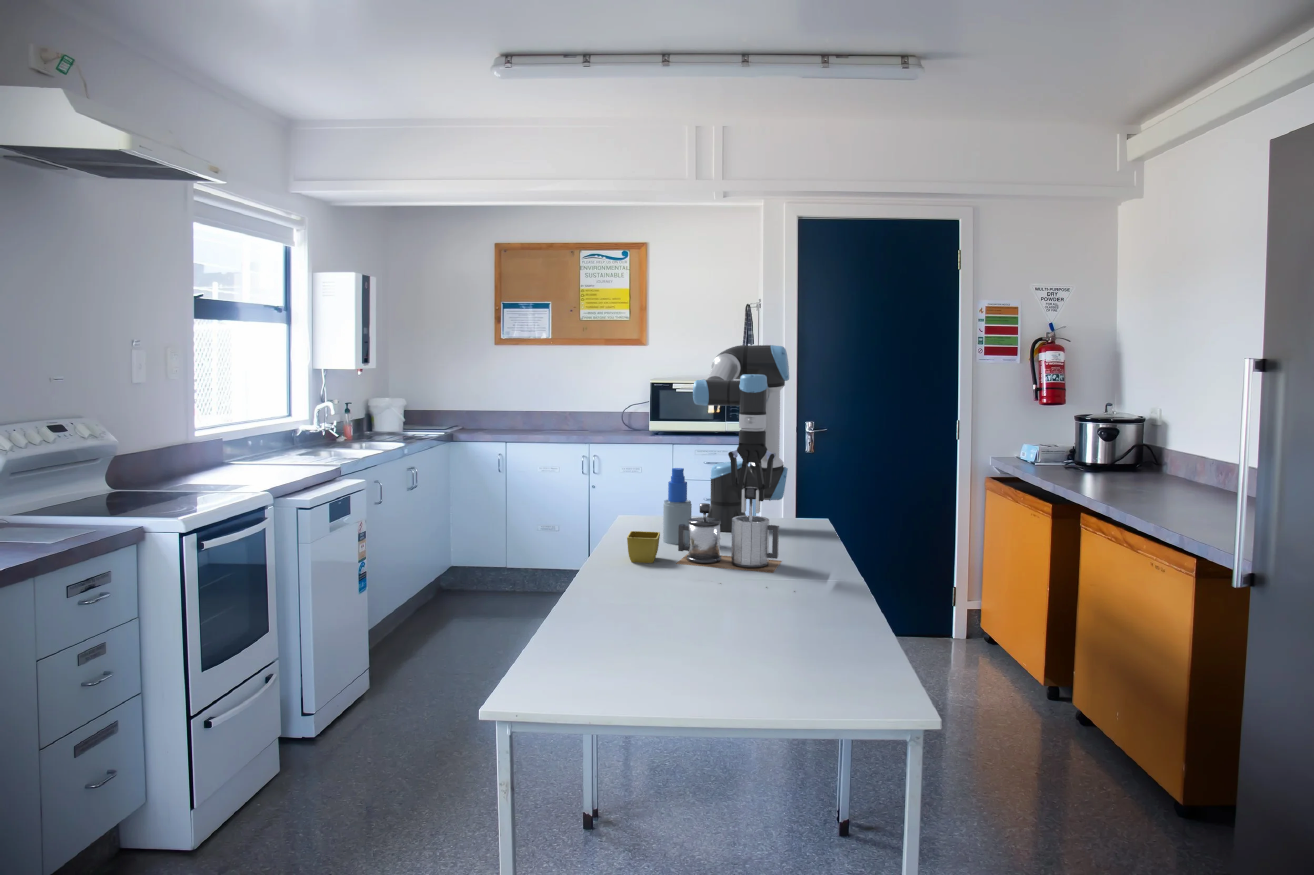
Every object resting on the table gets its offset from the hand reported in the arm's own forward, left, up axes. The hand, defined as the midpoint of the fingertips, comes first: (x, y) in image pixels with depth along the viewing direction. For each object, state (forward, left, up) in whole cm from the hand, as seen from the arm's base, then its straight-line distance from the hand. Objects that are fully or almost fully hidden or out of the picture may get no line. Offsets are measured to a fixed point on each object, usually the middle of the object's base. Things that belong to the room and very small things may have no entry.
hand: (750, 511), depth 228 cm
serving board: (0, -6, -17) cm, 18 cm away
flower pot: (+6, -30, -17) cm, 35 cm away
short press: (0, -15, -15) cm, 21 cm away
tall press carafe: (0, +1, -15) cm, 15 cm away
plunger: (0, 0, -12) cm, 12 cm away
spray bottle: (-20, -28, -17) cm, 38 cm away
